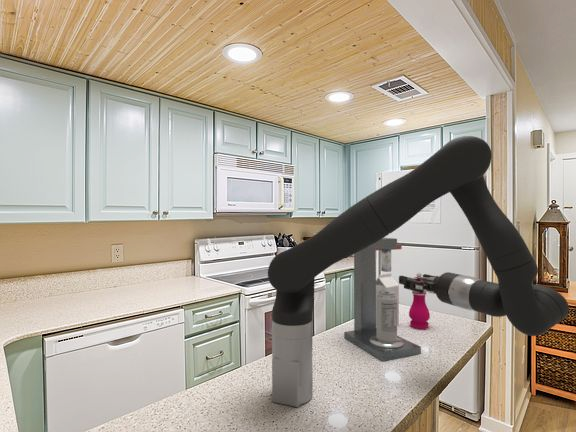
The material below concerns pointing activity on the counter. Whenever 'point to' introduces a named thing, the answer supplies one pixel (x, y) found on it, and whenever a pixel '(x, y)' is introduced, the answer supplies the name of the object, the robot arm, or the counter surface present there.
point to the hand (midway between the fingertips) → (411, 278)
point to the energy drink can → (387, 317)
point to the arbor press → (374, 304)
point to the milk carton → (387, 284)
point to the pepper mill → (419, 310)
